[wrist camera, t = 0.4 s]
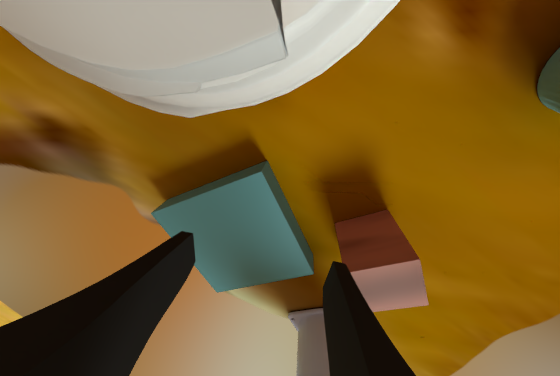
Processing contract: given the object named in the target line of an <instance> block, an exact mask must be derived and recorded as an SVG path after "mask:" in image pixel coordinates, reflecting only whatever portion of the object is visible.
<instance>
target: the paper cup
mask: <svg viewBox="0 0 560 376" xmlns="http://www.w3.org/2000/svg"><path fill="white" fill-rule="evenodd" d="M399 1H400V0H0V26H2V27H4V28H5V29H6V30H7V31H8V32H9V33H10V34H11V35H13V36H14V37H15V38H16V39H17V40H19V41H20V42H21V43H22V44H23V45H25V46H26V47H27V48H28V49H29V50H31V51H32V52H34V53H35V54H37V55H38V56H40V57H41V58H43V59H44V60H46V61H47V62H49V63H50V64H52V65H54V66H56V67H58V68H60V69H62V70H63V71H65V72H67V73H69V74H71V75H74V76H76V77H78V78H81V79H83V80H85V81H87V82H90V83H92V84H95V85H96V86H98V87H100V88H102V89H104V90H106V91H108V92H110V93H112V94H114V95H116V96H118V97H120V98H122V99H124V100H126V101H128V102H131V103H134V104H137V105H140V106H143V107H145V108H148V109H151V110H154V111H157V112H160V113H166V114H172V115H177V116H183V117H188V118H192V117H197V116H201V115H206V114H210V113H215V112H219V111H224V110H229V109H235V108H241V107H246V106H252V105H256V104H259V103H262V102H264V101H267V100H270V99H273V98H275V97H278V96H281V95H283V94H286V93H289V92H290V91H292V90H294V89H296V88H297V87H299V86H301V85H303V84H304V83H306V82H308V81H310V80H311V79H313V78H315V77H317V76H318V75H320V74H322V73H323V72H324V71H326V70H327V69H328V68H329V67H331V66H332V65H333V64H334V63H336V62H337V61H338V60H339V59H341V58H342V57H343V56H344V55H346V54H347V53H348V52H350V51H351V50H352V49H353V48H355V47H356V46H357V45H358V44H359V43H360V42H361V41H362V40H363V39H364V38H365V37H366V36H367V35H368V34H369V33H370V32H371V31H372V30H373V29H374V28H375V27H376V26H377V25H378V23H379V22H380V21H381V20H382V19H383V18H384V17H385V16H386V15H387V14H388V13H389V12H390V11H391V10H392V9H393V8H394V7H395V6H396V5H397V3H398V2H399Z"/></svg>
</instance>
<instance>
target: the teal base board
mask: <svg viewBox="0 0 560 376" xmlns="http://www.w3.org/2000/svg"><path fill="white" fill-rule="evenodd" d="M151 214H152V215H153V217H154V218H155V219H156V220H157V221H158V223H159V224H160V225H161V226H162V227H163V228H164V230H165V231H166V232H167V233H168V234H169V236H170V237H173V236H175V235H176V234H178V233H179V232H181V231H185V232H190V233H193V236H194V248H195V259H196V261H195V263H194V266H195V267H196V268H197V269H198V270H199V272H200V273H201V274H202V275H203V276H204V278H205V279H206V280H207V281H208V282H209V284H210V285H211V286H212V287H213V288H214V290H215V291H216V292H223V291H228V290H233V289H238V288H244V287H249V286H254V285H259V284H265V283H270V282H275V281H280V280H286V279H291V278H296V277H301V276H307V275H312V274H314V266H313V254H312V252H311V250H310V248H309V245H308V243H307V241H306V239H305V237H304V235H303V233H302V231H301V229H300V227H299V225H298V223H297V221H296V219H295V217H294V215H293V212H292V210H291V208H290V206H289V204H288V202H287V200H286V198H285V196H284V194H283V192H282V190H281V188H280V186H279V184H278V182H277V179H276V177H275V175H274V173H273V171H272V169H271V167H270V165H269V163H268V161H265V162H262V163H260V164H257V165H254V166H252V167H249V168H247V169H244V170H242V171H239V172H237V173H234V174H232V175H229V176H226V177H224V178H221V179H219V180H216V181H214V182H211V183H209V184H206V185H204V186H201V187H198V188H196V189H193V190H191V191H188V192H186V193H183V194H181V195H178V196H176V197H173V198H170V199H168V200H166V201H165V202H164V203H163V204H162V205H160V206H159V207H158V208H157V209H155V210H154V211H153V212H152V213H151Z"/></svg>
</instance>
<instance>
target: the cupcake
mask: <svg viewBox="0 0 560 376" xmlns="http://www.w3.org/2000/svg"><path fill="white" fill-rule="evenodd" d="M537 92H538V97H539V99H540V101H541V102H542V103H543V104H544V105H545V106H546V107H548V108H550V109H552V110H554V111H557V112H559V113H560V48H559V49H558V50H557V51H556V52H555V53H554V54H553V55H552V57H551V58H550V59H549V60H548V62H547V63H546V65H545V67H544V68H543V70H542V72H541V75H540V77H539V80H538V86H537Z"/></svg>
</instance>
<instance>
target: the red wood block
mask: <svg viewBox="0 0 560 376" xmlns="http://www.w3.org/2000/svg"><path fill="white" fill-rule="evenodd" d="M335 228H336V233H337V238H338V243H339V248H340V253H341V258H342V263H344V264H346V265H347V267H348V269H349V271H350V273H351V275H352V277H353V278H354V280H355V282H356V284H357V286H358V288H359V289H360V291H361V293H362V295H363V297H364V298H365V300H366V302H367V303H368V305H369V307H370V309H371V310H372V312H376V311H384V310H392V309H400V308H408V307H416V306H424V305H429V304H428V299H427V294H426V289H425V284H424V279H423V273H422V268H421V263H420V259H419V257H418V256H417V254H416V253H415V251H414V250H413V248H412V247H411V245H410V243H409V242H408V240H407V239H406V237H405V236H404V234H403V233H402V231H401V229H400V228H399V226H398V225H397V223H396V222H395V220H394V219H393V217H392V215H391V214H390V212H389V211H388V210H384V211H380V212H376V213H372V214H368V215H365V216H361V217H357V218H353V219H349V220H345V221H341V222H338V223H335Z"/></svg>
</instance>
